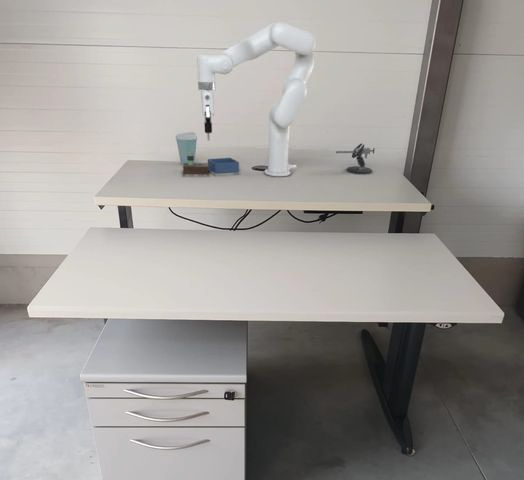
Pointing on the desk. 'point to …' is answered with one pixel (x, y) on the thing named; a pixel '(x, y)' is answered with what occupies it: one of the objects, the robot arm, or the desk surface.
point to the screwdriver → (208, 136)
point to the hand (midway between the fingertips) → (208, 131)
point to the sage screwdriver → (190, 158)
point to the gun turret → (359, 159)
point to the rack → (195, 168)
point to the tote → (223, 165)
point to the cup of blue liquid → (186, 145)
